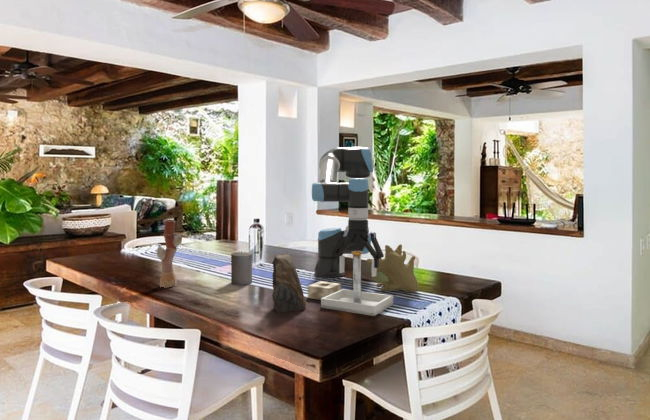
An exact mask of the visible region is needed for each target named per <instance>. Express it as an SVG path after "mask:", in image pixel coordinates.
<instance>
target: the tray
mask: <svg viewBox="0 0 650 420" xmlns="http://www.w3.org/2000/svg"><path fill="white" fill-rule="evenodd" d="M393 305H394V295H392V294H386V293H384V294H383V293H377V292H371V291H362V290H361V304H360V303H354V302H353V289H346V288H341V290H339V291H337V292H335V293H332V294H330V295H328V296H325V297H323V298H321V300H320V308H322V309H327V310H328V309H329V310H334V311H341V312H346V313H352V314H353V313H354V314H358V315H365V316H372V317H376V316H377V315H378V314H380V313H381V312H383V311H385V310H387V309H388V308H390V307H392V306H393Z"/></svg>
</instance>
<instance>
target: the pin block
mask: <svg viewBox="0 0 650 420" xmlns="http://www.w3.org/2000/svg"><path fill="white" fill-rule="evenodd" d="M341 289H342V283H338V282H330V281H324V280H320V281H316V282H314V283H311V284H309V285H307V298H308V299H314V300H320V301H321V298H323V297H325V296H328V295H330V294H332V293H335V292H337V291H339V290H341Z"/></svg>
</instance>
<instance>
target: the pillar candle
mask: <svg viewBox="0 0 650 420" xmlns="http://www.w3.org/2000/svg"><path fill="white" fill-rule="evenodd" d="M230 256H231V257H230V261H231V262H230V263H231V264H230V266H231V267H230V268H231V269H230V270H231V271H230V273H231V274H230V276H231V278H230V280H231V282H230V283H231V284H232V285H235V286H245V285H251V284H252V283H253V252H248V251H242V250H241V251H237V252H236V251H235V252H232V253H231V254H230Z"/></svg>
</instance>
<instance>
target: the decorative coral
mask: <svg viewBox="0 0 650 420" xmlns="http://www.w3.org/2000/svg"><path fill="white" fill-rule="evenodd" d="M402 249H403V245H402V244H401V243H400V244H399V245H398V246H397V247H396V248H395V250H393V248H392V247H391V246H390V245H387V244H385V246H384V251H385V253H384V257H383V258H379V267H378V268H377V272H376V274H377V273H382V274H383V276H385V277H386V278H387V279H388V281H385V282H377V283H376V284H375V285H376V287H377V288H379V289H380V292H386V291H387V292H388V291H392V292H395V291H399V290H400V291H403V292H406V293H414V292H416V291H417V289H418V286H419V285H418V284H419V283H418V280H417V277H416V275H415V273H414V271H415V270H414V269H415V268H414V267H415V260H416V256H415V255H413V256H411V258H410V259H409V260H408V262H407V263H405V261H406V259H407V253H406V251H405V250H402ZM372 259H373V258H367V259H366V262H367V264H369V265H370V266H372ZM370 273H371V274H372V268H371V269H370Z"/></svg>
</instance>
